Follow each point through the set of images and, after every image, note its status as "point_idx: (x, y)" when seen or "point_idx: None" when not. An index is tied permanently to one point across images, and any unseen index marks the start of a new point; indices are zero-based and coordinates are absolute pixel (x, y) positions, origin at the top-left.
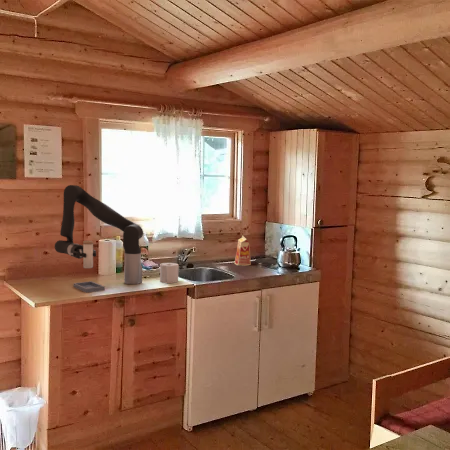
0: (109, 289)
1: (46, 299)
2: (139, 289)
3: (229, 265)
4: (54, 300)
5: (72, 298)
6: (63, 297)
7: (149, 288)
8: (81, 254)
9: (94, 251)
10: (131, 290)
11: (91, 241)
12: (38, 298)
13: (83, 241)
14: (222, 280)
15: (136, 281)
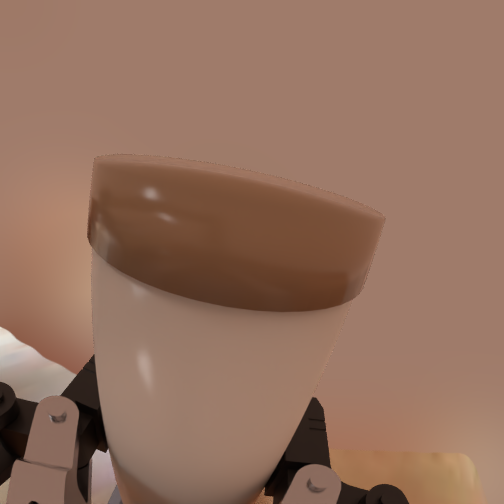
0: (99, 459)
1: (442, 478)
2: (35, 360)
3: None
4: (418, 456)
5: (352, 451)
6: (381, 480)
7: (9, 339)
8: (324, 453)
9: (17, 400)
10: (64, 376)
11: (193, 162)
12: (465, 499)
13: (377, 214)
14: None
15: None
